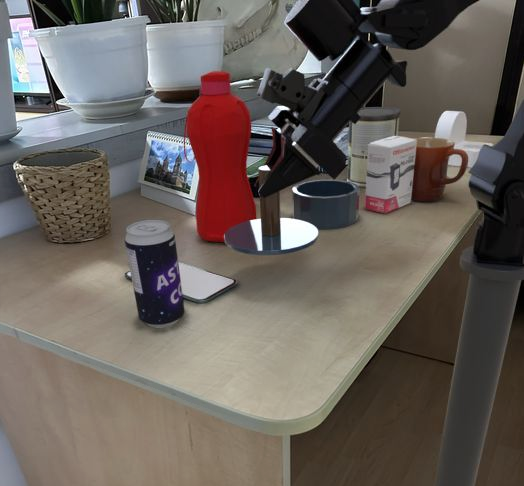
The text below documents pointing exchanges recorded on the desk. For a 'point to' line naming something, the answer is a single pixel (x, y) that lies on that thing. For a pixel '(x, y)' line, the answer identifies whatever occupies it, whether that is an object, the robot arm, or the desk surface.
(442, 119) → the tape dispenser
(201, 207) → the water bottle
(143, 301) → the beverage can
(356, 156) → the coffee can
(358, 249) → the desk surface
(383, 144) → the ink box
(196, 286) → the smartphone
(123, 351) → the desk surface
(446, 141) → the mug
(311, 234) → the lid
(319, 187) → the pot
